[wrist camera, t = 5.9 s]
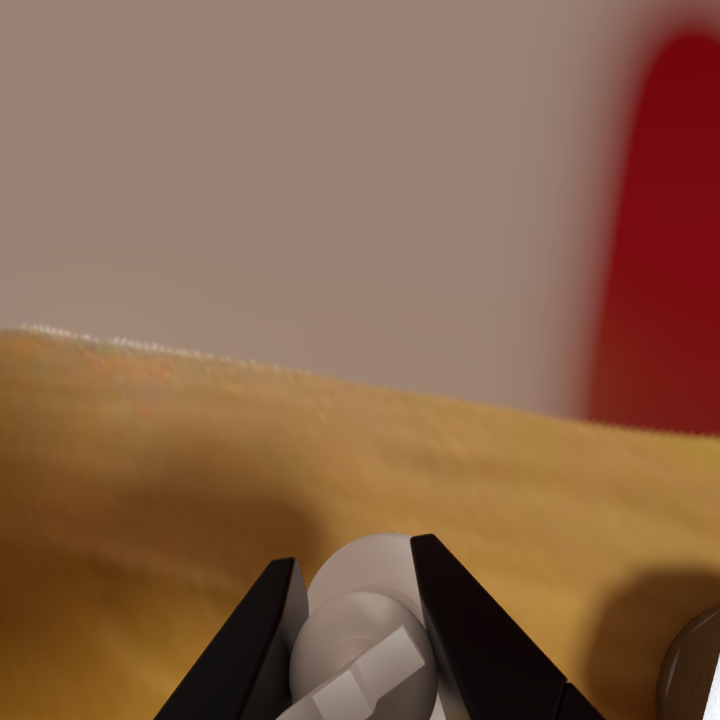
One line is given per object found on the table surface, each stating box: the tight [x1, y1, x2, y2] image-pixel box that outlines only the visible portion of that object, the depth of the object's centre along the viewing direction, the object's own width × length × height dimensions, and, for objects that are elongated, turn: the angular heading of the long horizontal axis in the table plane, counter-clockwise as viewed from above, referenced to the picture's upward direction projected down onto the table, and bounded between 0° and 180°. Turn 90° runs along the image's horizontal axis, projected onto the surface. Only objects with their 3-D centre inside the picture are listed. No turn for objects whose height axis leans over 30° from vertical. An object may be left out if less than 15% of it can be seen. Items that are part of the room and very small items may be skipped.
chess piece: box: [276, 532, 446, 720], centre depth 10 cm, size 5×5×10 cm
